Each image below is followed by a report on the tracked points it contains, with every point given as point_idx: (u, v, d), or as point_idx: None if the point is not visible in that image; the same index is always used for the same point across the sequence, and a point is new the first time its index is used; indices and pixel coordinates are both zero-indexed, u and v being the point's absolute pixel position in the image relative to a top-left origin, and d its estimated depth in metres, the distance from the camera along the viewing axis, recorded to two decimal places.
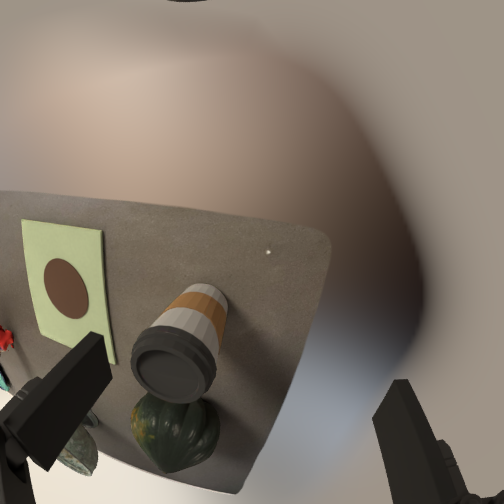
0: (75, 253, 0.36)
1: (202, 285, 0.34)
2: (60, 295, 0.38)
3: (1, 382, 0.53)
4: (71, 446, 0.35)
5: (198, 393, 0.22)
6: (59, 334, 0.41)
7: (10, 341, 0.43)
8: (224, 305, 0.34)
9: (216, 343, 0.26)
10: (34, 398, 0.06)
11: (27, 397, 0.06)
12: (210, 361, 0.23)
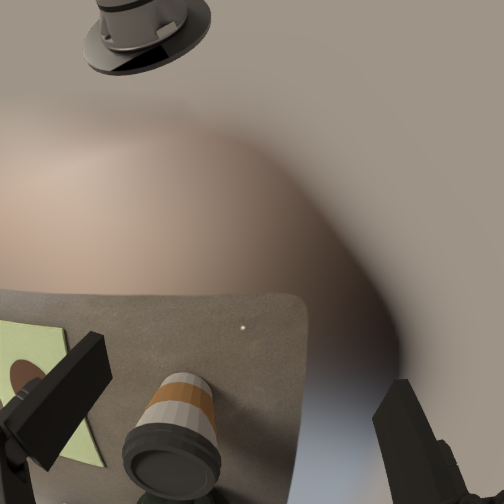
0: (39, 353, 0.27)
1: (180, 374, 0.28)
2: None
3: None
4: None
5: (208, 486, 0.15)
6: None
7: None
8: (208, 391, 0.28)
9: (212, 431, 0.20)
10: (34, 398, 0.06)
11: (27, 397, 0.06)
12: (213, 451, 0.17)
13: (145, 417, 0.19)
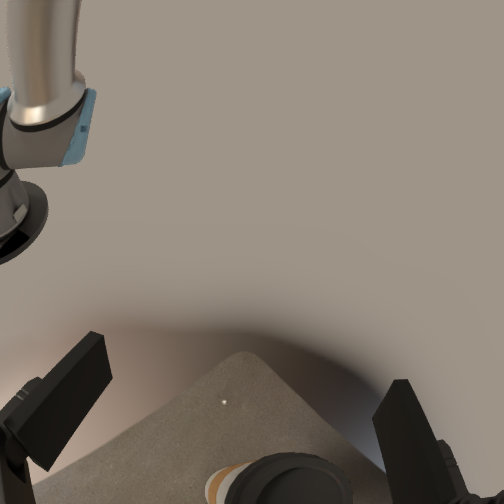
0: None
1: (213, 474, 0.20)
2: None
3: None
4: None
5: (343, 482, 0.12)
6: None
7: None
8: None
9: None
10: (34, 398, 0.06)
11: (27, 397, 0.06)
12: None
13: (222, 496, 0.12)
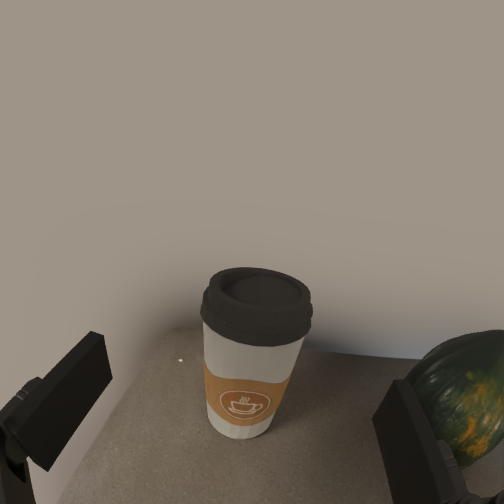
0: None
1: None
2: None
3: None
4: None
5: (278, 273, 0.22)
6: None
7: None
8: None
9: None
10: (34, 398, 0.06)
11: (27, 397, 0.06)
12: None
13: (206, 341, 0.19)
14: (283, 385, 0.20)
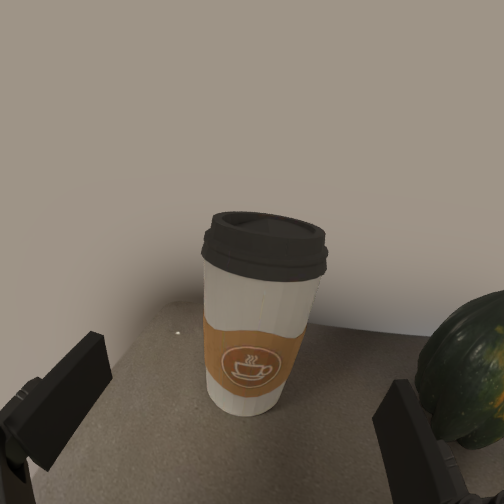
0: None
1: None
2: None
3: None
4: None
5: (287, 217, 0.20)
6: None
7: None
8: None
9: None
10: (34, 398, 0.06)
11: (27, 397, 0.06)
12: None
13: (206, 286, 0.17)
14: (296, 343, 0.17)
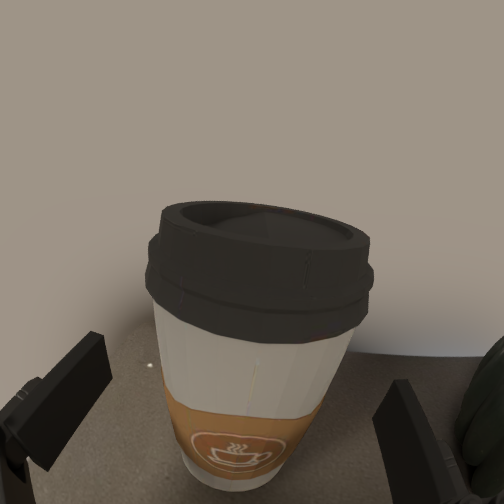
0: None
1: None
2: None
3: None
4: None
5: (297, 211, 0.12)
6: None
7: None
8: None
9: None
10: (34, 398, 0.06)
11: (27, 397, 0.06)
12: None
13: (157, 332, 0.09)
14: (311, 417, 0.09)
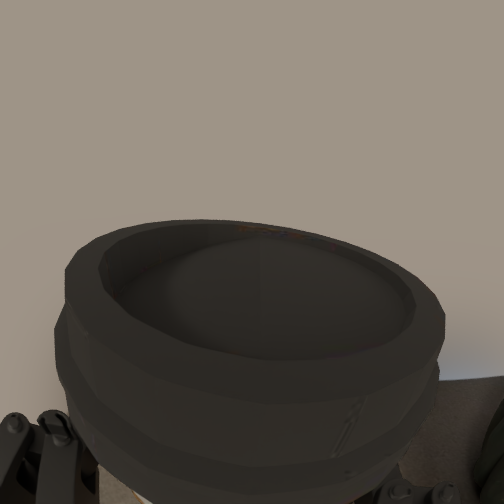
0: None
1: None
2: None
3: None
4: None
5: (308, 234, 0.08)
6: None
7: None
8: None
9: None
10: None
11: None
12: None
13: None
14: None
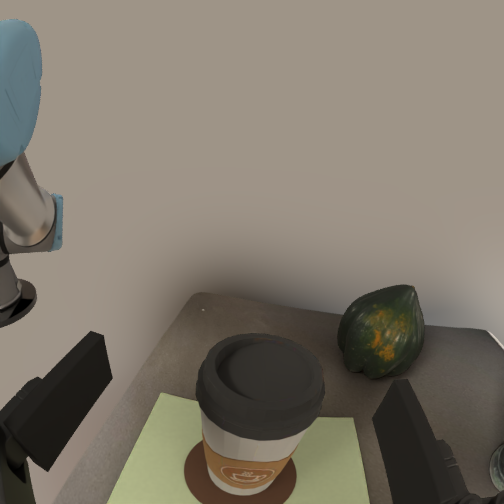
0: (180, 432, 0.24)
1: None
2: None
3: None
4: None
5: (285, 341, 0.18)
6: None
7: None
8: None
9: None
10: (34, 398, 0.06)
11: (27, 397, 0.06)
12: None
13: (203, 421, 0.15)
14: (289, 457, 0.15)
